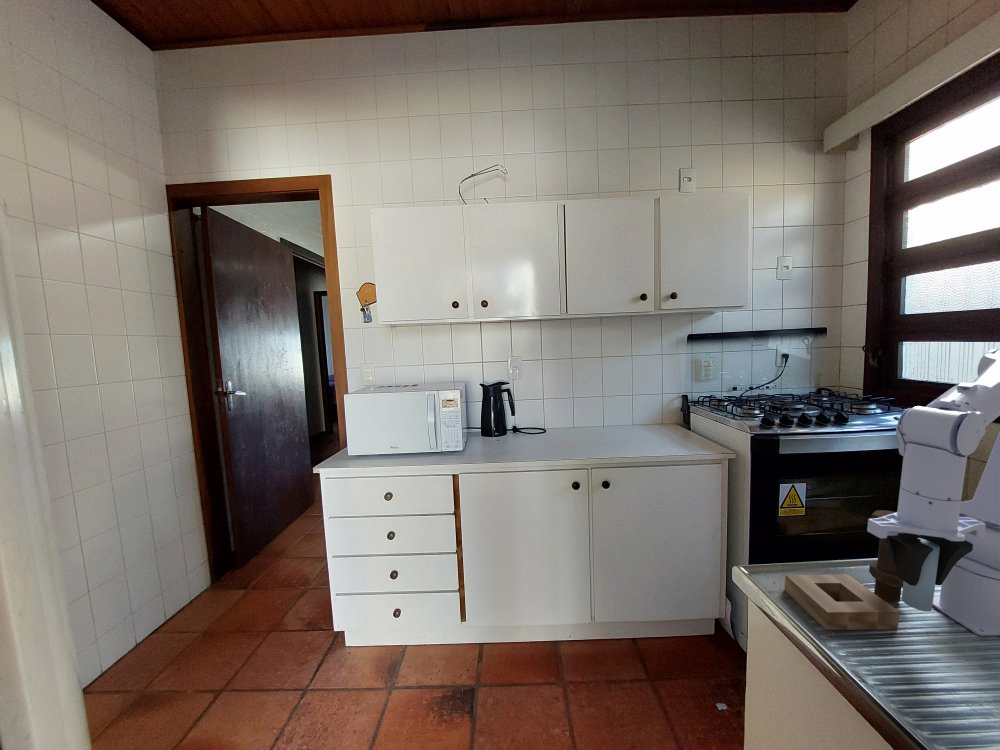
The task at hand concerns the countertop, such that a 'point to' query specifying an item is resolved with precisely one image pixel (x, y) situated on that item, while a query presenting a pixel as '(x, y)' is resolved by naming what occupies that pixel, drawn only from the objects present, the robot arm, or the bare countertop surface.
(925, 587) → the dowel
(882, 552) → the bolt
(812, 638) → the countertop surface
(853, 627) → the hole block
